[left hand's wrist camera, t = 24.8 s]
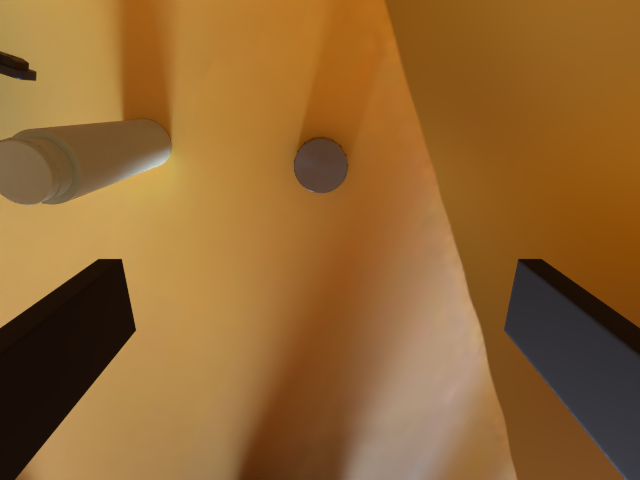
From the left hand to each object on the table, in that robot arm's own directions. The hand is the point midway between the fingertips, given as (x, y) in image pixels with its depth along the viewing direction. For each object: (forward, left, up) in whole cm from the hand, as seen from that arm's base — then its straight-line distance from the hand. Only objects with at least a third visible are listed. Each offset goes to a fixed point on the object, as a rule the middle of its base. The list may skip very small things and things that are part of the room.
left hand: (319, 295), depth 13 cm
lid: (0, 0, -26) cm, 26 cm away
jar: (+14, +11, -28) cm, 33 cm away
